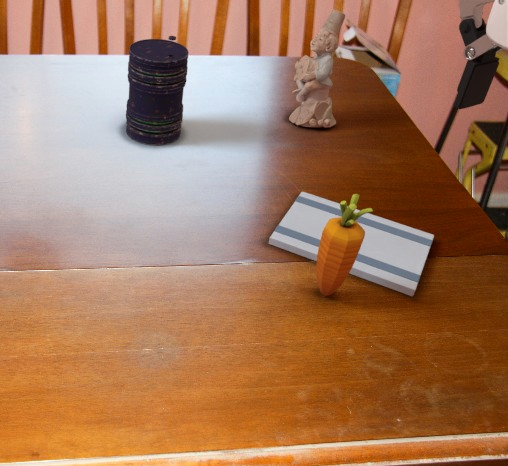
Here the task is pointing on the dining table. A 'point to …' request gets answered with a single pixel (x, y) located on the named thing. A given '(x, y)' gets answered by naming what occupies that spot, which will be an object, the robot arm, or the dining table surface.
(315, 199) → the towel
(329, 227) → the carrot
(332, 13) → the figurine
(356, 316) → the dining table surface
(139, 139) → the dark blue cylinder
